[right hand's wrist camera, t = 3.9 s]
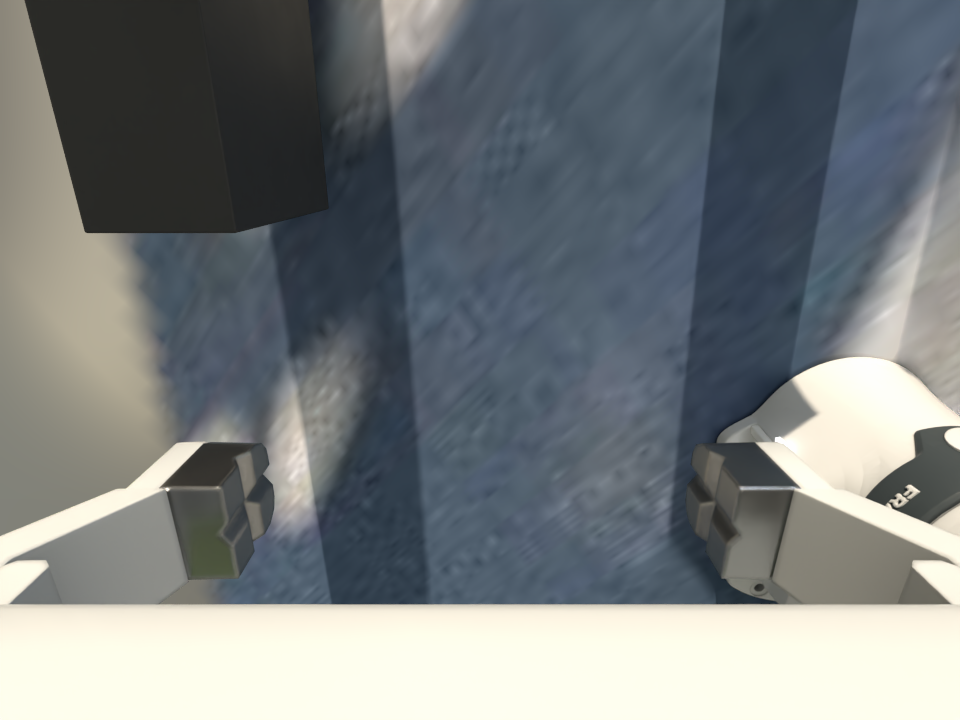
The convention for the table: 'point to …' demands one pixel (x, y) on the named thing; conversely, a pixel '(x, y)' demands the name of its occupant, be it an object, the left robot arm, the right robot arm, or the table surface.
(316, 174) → the box
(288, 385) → the table surface
